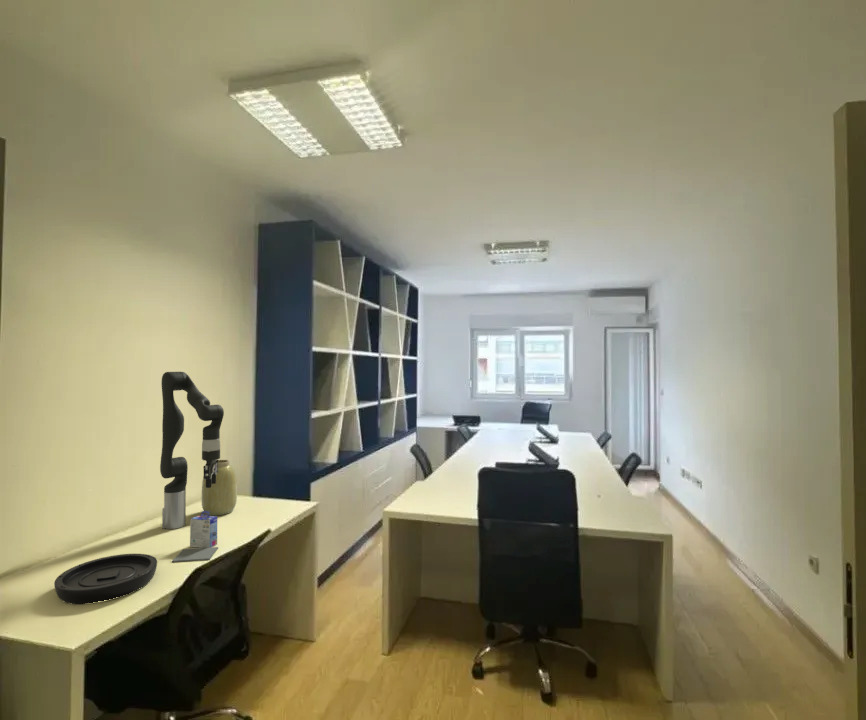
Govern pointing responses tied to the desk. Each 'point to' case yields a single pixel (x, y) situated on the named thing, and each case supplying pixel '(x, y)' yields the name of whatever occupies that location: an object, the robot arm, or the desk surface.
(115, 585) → the round tray
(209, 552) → the mat
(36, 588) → the desk surface
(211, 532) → the ink cartridge box
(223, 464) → the vase
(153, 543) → the desk surface
